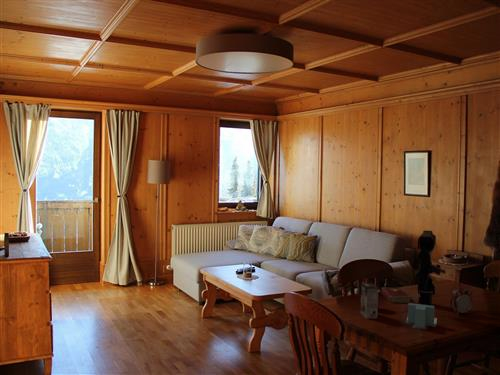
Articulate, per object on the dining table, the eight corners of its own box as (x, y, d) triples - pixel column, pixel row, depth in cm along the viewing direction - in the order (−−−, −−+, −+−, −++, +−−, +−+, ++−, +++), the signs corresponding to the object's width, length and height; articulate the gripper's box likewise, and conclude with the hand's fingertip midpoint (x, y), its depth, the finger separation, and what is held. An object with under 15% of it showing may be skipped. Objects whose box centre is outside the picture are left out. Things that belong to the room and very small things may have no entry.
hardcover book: (390, 303, 268) (390, 295, 268) (381, 293, 289) (381, 287, 289) (411, 303, 267) (411, 296, 267) (401, 294, 288) (401, 287, 288)
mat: (408, 315, 244) (408, 314, 244) (437, 318, 239) (437, 318, 239) (404, 326, 225) (404, 326, 225) (435, 331, 220) (435, 330, 220)
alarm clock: (455, 315, 245) (456, 287, 245) (449, 312, 250) (450, 284, 249) (473, 314, 248) (473, 286, 248) (466, 311, 253) (467, 283, 252)
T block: (408, 320, 234) (408, 302, 234) (433, 324, 229) (434, 306, 229) (406, 326, 226) (406, 307, 225) (433, 329, 221) (433, 311, 220)
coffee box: (359, 313, 246) (360, 282, 246) (371, 313, 247) (372, 282, 246) (365, 318, 237) (366, 287, 237) (378, 318, 238) (378, 287, 237)
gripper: (439, 262, 238) (438, 293, 238) (443, 259, 254) (442, 287, 254) (416, 260, 243) (415, 290, 243) (421, 257, 260) (420, 285, 259)
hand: (424, 288), depth 250 cm, fingers closed
